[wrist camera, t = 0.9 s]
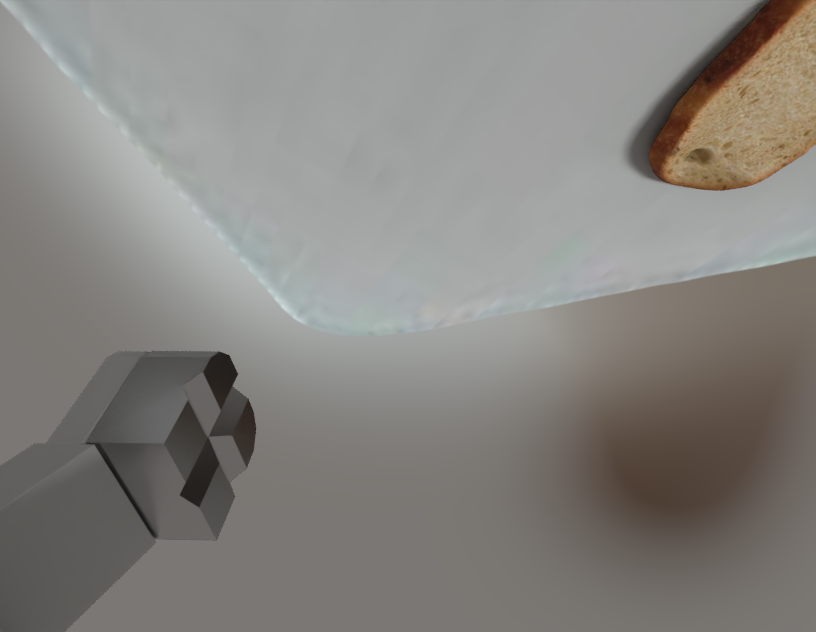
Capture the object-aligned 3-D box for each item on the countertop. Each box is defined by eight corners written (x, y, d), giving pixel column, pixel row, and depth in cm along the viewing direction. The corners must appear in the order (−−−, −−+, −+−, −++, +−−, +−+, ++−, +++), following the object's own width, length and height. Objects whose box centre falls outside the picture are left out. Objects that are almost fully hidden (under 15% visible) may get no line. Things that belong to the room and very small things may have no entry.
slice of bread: (898, -83, 46) (918, -52, 43) (892, 129, 58) (908, 161, 56) (609, 25, 53) (614, 56, 50) (660, 193, 65) (666, 223, 63)
